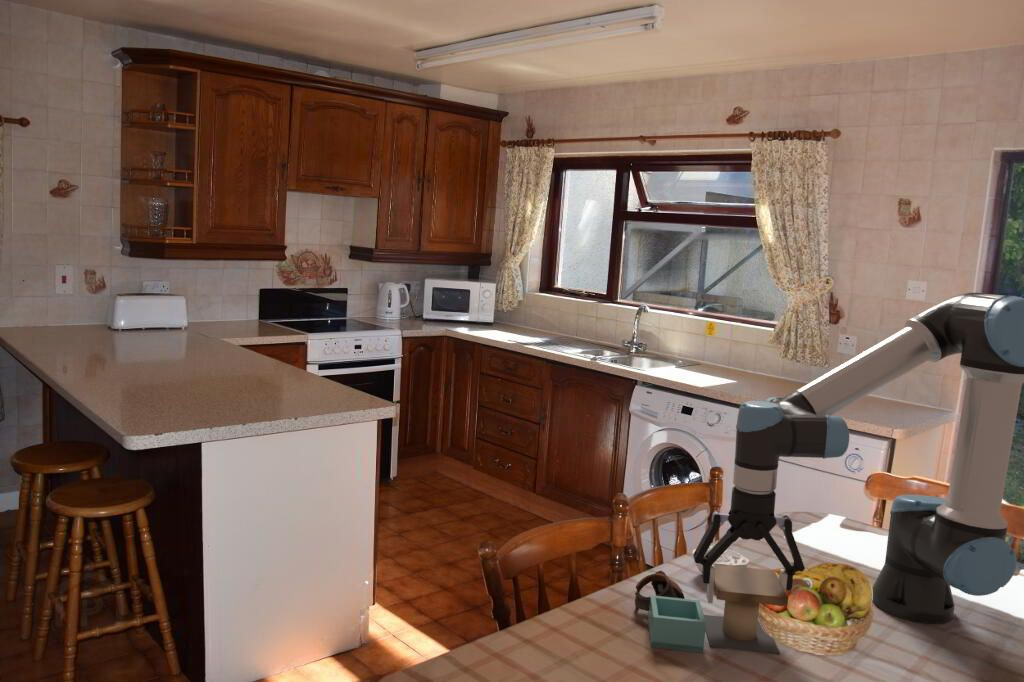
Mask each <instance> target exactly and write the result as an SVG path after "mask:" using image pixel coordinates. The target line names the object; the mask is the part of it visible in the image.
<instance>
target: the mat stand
mask: <svg viewBox="0 0 1024 682" xmlns="http://www.w3.org/2000/svg"><path fill="white" fill-rule="evenodd" d="M759 611H760V604H758V603H748V602H738V601H727V600H724V608H723V616H720V615H711V614H710V615H709V614H704V617H705V621H706V629H705V635H706V637H707V640H708V641H707V642H708V644H709V647H710V648H718V649H727V650H728V649H729V650H737V651H744V652H754V653H762V654H764V653H765V654H771V655H780V654H781V652H780V650H779V648H778V645H777V643H776V639H774V637H773V638H772V637H770V636H769V635H767V634H766V633H765V632H764V631H763V629H762V627H761V625H760V623H759V621H760V620H759V613H760V612H759ZM758 620H759V621H758Z"/></svg>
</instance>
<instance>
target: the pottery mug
mask: <svg viewBox="0 0 1024 682" xmlns="http://www.w3.org/2000/svg"><path fill="white" fill-rule="evenodd" d="M649 583H650V584H651V586H652V588H653V590H654V593H655V596H662V597H672V598H681V599H686V598H685V595H684V593H683V590H682V588H681V587H680V585H678V583H676V582H675V581H674V580H673V579H670V578H669V577H668V576H667V574H666V573H665V571H663V570H659V571H658V570H657V571H656V572H655V573H651V574H649V575H646V576H645V577H643V578H641V579H640V580H639V581H638V583H637V584H636V585H635V589H636V591H635V592H634V594H635V597H634V598H635V599H634V606H635V609H636V610H637V611H638V610H639V609H640V610H642V611H646V612H649V606H650V596H644V595H642V594H640V593H641V591H642V589H643V588H644V587H645V586H647V585H649Z"/></svg>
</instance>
